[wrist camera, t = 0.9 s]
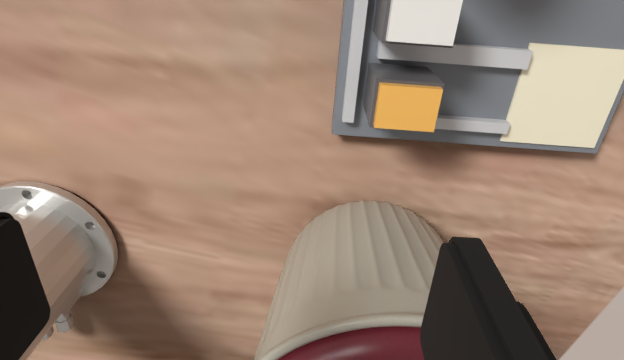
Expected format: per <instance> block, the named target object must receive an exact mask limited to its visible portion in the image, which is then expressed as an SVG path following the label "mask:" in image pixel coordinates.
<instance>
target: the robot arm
mask: <svg viewBox="0 0 624 360" xmlns="http://www.w3.org/2000/svg"><path fill="white" fill-rule="evenodd" d="M117 262H118V249H117V244H116V240H115V238H114V235H113V233H112V230H111V229H110V227H109V226H108V224H107V223H106V221H105V220H104V219H103V218H102V217H101V215H100V214H99V213H98V212H97V211H96V210H95V209H94V208H92V207H91V206H90V205H89V204H87V203H86V202H85V201H84V200H82V199H80V198H79V197H77V196H75V195H74V194H72V193H70V192H68V191H66V190H63V189H61V188H59V187H56V186H52V185H49V184H45V183H40V182H31V181H22V182H12V183H8V184H4V185H2V186H0V360H27V359H28V357H29V356H30V355H31V353H32V352H33V351H34V349H35V348H36V347H37V345H38V344H39V343H40V341H43V340H45V339H47V338H49V337H50V336H51V335H52V334H53V332H54V329H53V324H54V323H56V326H57V329H58V331H59V332H66V331H69V330H70V329H71V328H72V327H73V325H74V323H73V320H72V316H71V314H70V313H69V311H70V309H71V308H72V307H73V305H74V304H75V303H76V301H77V300H78V299H79V297H83V296H87V295H89V294H91V293H94V292H96V291H97V290H99V289H100V288H101V287H103V286H104V284H105V283H106V282H107V281H108V280H109V278H110V277H111V275H112V274H113V272H114V271H115V268H116V265H117ZM420 342H421V348H422V352H423V356H424V360H556V358H555V357H554V355H553V353H552V352H551V350H550V348H549V346H548V345H547V343H546V341H545V340H544V338H543V336H542V334H541V333H540V331H539V329H538V328H537V326H536V324H535V322H534V321H533V319H532V317H531V316H530V314H529V312H528V311H527V309H526V308H525V307H524V305H523V304H521V303H520V302H516V300H515V299H514V297H513V295H512V293H511V291H510V290H509V288H508V286H507V284H506V283H505V281H504V279H503V277H502V276H501V274H500V272H499V270H498V268H497V267H496V265H495V263H494V261H493V260H492V258H491V256H490V254H489V253H488V251H487V249H486V247H485V245H484V244H483V242H482V241H481V239H479V238H467V237H452V238H451V239H450V241H449V243H442V245H441V247H440V250H439V255H438V259H437V263H436V267H435V271H434V275H433V279H432V284H431V288H430V292H429V296H428V300H427V304H426V308H425V313H424V317H423V321H422V325H421V330H420Z"/></svg>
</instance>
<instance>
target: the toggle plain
mask: <svg viewBox="0 0 624 360" xmlns="http://www.w3.org/2000/svg"><path fill="white" fill-rule="evenodd" d="M462 4H463V0H377V3H376V11H375V19H374V26H373V32H374V34H375V35H376V36H377V38H378V39H379V40H380V42H381V43H390V44H403V45H416V46H430V47H443V48H453V44H454V40H455V35H456V31H457V26H458V22H459V17H460V13H461V8H462Z"/></svg>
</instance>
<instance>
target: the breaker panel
mask: <svg viewBox="0 0 624 360" xmlns="http://www.w3.org/2000/svg"><path fill="white" fill-rule="evenodd" d="M376 3H377V0H344V4H343V15H342V25H341V36H340V46H339V57H338V67H337V78H336V88H335V99H334V109H333V120H332V134H335V135H349V136H363V137H376V138H390V139H404V140H418V141H431V142H445V143H459V144H472V145H486V146H500V147H513V148H527V149H541V150H555V151H568V152H582V153H596V154H597V152H598V149H599V147H600V145H601V142H602V140H603V138H604V135H605V133H606V131H607V129H608V126H609V124H610V122H611V119H612V117H613V115H614V112H615V110H616V108H617V106H618V103H619V101H620V99H621V96H622V94H623V92H624V0H463V4H462V8H461V13H460V17H459V22H458V26H457V31H456V35H455V40H454V44H453V48H443V47H430V46H416V45H403V44H390V43H381V42H380V40H379V39H378V38H377V36H376V35H375V34H374V32H373V26H374V19H375V11H376ZM369 63H383V64H396V65H410V66H423V67H428V68H429V69H430V70H431V71H432V72H433V73H434V74H435V75H436V76H437V77H438V78H439V79H440V80H441V81H442V82H443V83H445V85H444V89H443V94H442V98H441V103H440V107H439V112H438V116H437V121H436V125H435V130H434V132H424V131H410V130H397V129H383V128H373V127H369V124H368V120H367V117H366V113H365V110H364V106H363V103H364V95H365V88H366V80H367V72H368V65H369Z"/></svg>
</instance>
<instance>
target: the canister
mask: <svg viewBox="0 0 624 360" xmlns="http://www.w3.org/2000/svg"><path fill="white" fill-rule="evenodd" d="M442 243H444V242H443V241H442V240H441V238H440V237H439V235H438V234H437V233H436V231H435V230H434V229H433V228H432V227H431V226H429V225H428V224H427V223H426V222H425V221H424V220H423V219H422V218H421V217H419V216H417V215H415V214H414V213H413V212H412V211H410V210H408V209H404V208H402V207H401V206H399V205H393V204H390V203H388V202H379V201H376V200H372V201H364V200H361V201H357V202H348V203H346V204H342V205H337V206H336V207H334V208H331V209H327V210H326V211H325V212H324V213H322V214H320V215H317V216H316V217H315V218H314V220H313V221H311V222H309V223H308V224H307V225H306V226H305V228H304V230H302V231H301V232H300V233H299V234H298V236H297V238H296V240H295V242H294V243H293V244H292V246H291V248H290V251H289V253H288V256H287V259H286V262H285V265H284V267H283V270H282V273H281V276H280V279H279V282H278V285H277V288H276V290H275V294H274V297H273V300H272V303H271V306H270V309H269V313H268V316H267V319H266V323H265V326H264V329H263V333H262V336H261V339H260V342H259V345H258V348H257V352H256V355H255V358H254V360H424V356H423V352H422V348H421V342H420V330H421V325H422V321H423V317H424V313H425V308H426V304H427V300H428V296H429V292H430V288H431V284H432V279H433V275H434V271H435V267H436V263H437V259H438V255H439V250H440V247H441V245H442Z"/></svg>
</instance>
